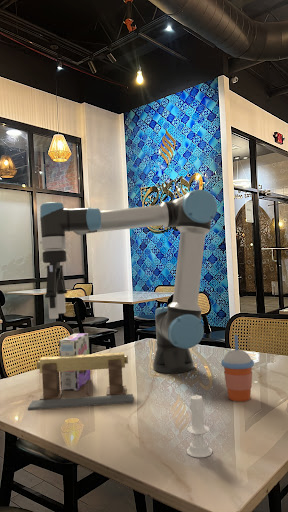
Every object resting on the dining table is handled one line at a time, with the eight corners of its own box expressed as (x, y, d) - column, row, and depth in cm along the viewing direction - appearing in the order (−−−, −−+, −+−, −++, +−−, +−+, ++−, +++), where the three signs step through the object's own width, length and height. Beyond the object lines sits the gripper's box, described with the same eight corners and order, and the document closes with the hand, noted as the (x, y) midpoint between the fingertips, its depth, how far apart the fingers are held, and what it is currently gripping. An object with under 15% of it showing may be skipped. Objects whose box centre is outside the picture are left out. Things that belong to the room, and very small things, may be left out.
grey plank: (132, 395, 125) (132, 393, 125) (133, 402, 119) (133, 400, 119) (32, 402, 124) (32, 400, 124) (28, 409, 118) (27, 407, 118)
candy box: (77, 391, 133) (75, 339, 133) (60, 391, 134) (57, 340, 134) (91, 379, 146) (89, 332, 147) (75, 378, 148) (73, 332, 148)
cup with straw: (237, 405, 112) (233, 339, 113) (216, 396, 120) (213, 335, 121) (262, 399, 117) (259, 335, 117) (241, 391, 125) (237, 331, 125)
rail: (127, 364, 132) (127, 352, 132) (128, 367, 128) (127, 354, 128) (38, 370, 130) (38, 357, 130) (36, 373, 127) (36, 360, 127)
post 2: (126, 388, 134) (124, 355, 134) (126, 395, 126) (124, 361, 126) (107, 389, 133) (105, 356, 134) (106, 397, 125) (104, 362, 126)
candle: (183, 456, 85) (180, 397, 85) (190, 445, 90) (187, 389, 90) (209, 459, 83) (206, 399, 83) (214, 447, 88) (211, 391, 88)
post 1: (63, 392, 133) (62, 359, 133) (59, 400, 125) (58, 365, 125) (44, 393, 132) (43, 360, 132) (39, 401, 124) (38, 366, 125)
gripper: (50, 252, 147) (53, 311, 147) (33, 249, 122) (37, 322, 122) (71, 250, 147) (75, 310, 147) (58, 248, 122) (62, 320, 122)
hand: (58, 315), depth 134 cm, fingers open, 13 cm apart
